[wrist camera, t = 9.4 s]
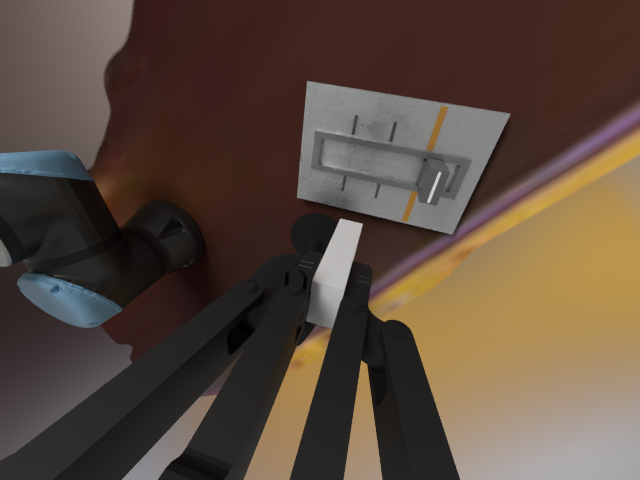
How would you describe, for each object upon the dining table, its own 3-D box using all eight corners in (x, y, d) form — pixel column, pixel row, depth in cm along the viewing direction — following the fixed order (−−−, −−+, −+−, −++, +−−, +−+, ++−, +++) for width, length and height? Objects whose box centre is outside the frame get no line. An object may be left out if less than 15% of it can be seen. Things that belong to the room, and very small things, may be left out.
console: (301, 193, 43) (294, 199, 40) (311, 81, 34) (304, 81, 32) (450, 228, 39) (453, 237, 37) (504, 112, 30) (513, 114, 28)
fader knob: (415, 185, 35) (417, 201, 30) (425, 155, 33) (429, 168, 28) (433, 188, 35) (438, 206, 30) (444, 159, 33) (452, 173, 27)
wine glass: (356, 252, 46) (330, 346, 29) (310, 269, 51) (265, 358, 34) (327, 203, 42) (278, 277, 26) (280, 226, 47) (215, 301, 31)
